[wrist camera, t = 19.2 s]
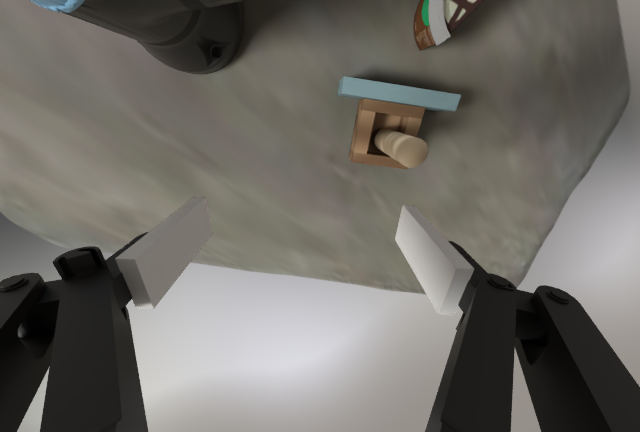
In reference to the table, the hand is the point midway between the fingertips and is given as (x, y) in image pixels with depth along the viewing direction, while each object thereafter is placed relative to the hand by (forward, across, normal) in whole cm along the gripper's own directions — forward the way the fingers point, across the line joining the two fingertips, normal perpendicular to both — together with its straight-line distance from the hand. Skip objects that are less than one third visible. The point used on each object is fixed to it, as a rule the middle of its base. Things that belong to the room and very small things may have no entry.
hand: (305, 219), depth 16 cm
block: (+26, +11, +3) cm, 29 cm away
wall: (+27, +12, +8) cm, 30 cm away
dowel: (+26, +11, +2) cm, 28 cm away
